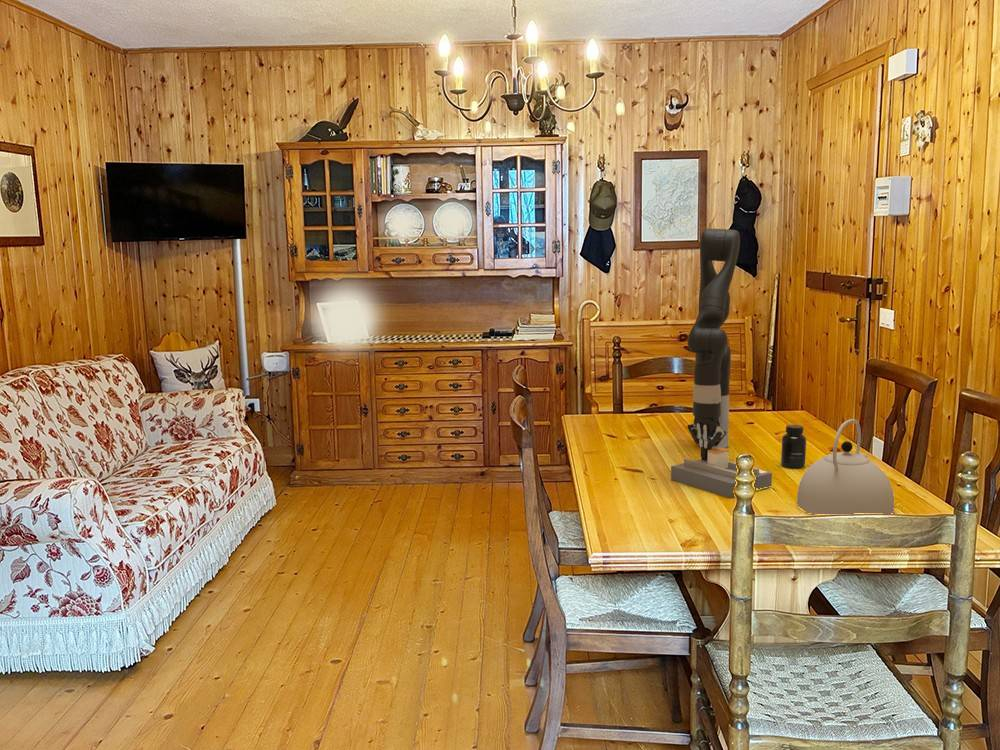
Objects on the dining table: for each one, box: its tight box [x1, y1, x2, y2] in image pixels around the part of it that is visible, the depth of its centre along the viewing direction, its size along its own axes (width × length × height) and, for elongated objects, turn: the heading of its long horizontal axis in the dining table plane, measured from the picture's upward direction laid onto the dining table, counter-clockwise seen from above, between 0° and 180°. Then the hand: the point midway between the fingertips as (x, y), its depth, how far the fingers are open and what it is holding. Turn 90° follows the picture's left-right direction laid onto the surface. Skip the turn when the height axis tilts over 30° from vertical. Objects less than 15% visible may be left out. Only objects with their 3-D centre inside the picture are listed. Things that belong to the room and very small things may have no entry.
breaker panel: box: [670, 458, 773, 499], centre depth 239 cm, size 22×16×6 cm
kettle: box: [796, 418, 895, 516], centre depth 216 cm, size 25×23×22 cm
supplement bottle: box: [780, 424, 807, 469], centre depth 254 cm, size 7×7×12 cm
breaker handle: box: [707, 447, 729, 468], centre depth 240 cm, size 3×5×5 cm, turn 124°
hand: (706, 460), depth 243 cm, fingers closed
